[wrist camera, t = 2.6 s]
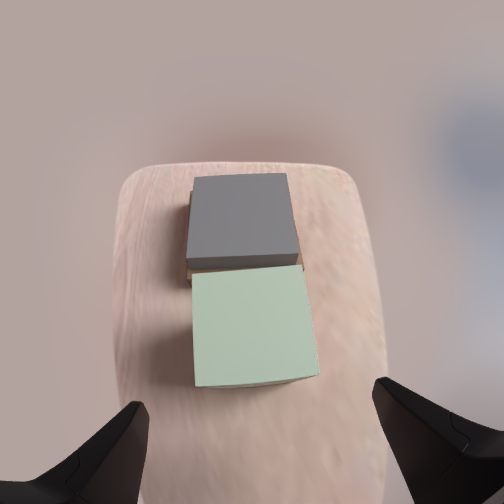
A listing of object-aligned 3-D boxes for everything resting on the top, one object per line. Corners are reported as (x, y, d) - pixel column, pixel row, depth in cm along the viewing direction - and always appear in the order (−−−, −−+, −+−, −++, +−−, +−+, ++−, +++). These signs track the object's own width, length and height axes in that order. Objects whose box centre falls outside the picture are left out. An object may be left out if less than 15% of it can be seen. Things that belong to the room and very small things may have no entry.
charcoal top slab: (295, 265, 21) (299, 253, 19) (191, 270, 21) (185, 258, 19) (284, 188, 25) (286, 173, 23) (198, 192, 25) (194, 177, 23)
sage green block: (293, 381, 18) (320, 374, 11) (219, 388, 18) (195, 386, 11) (284, 313, 21) (301, 264, 14) (214, 319, 21) (192, 273, 13)
